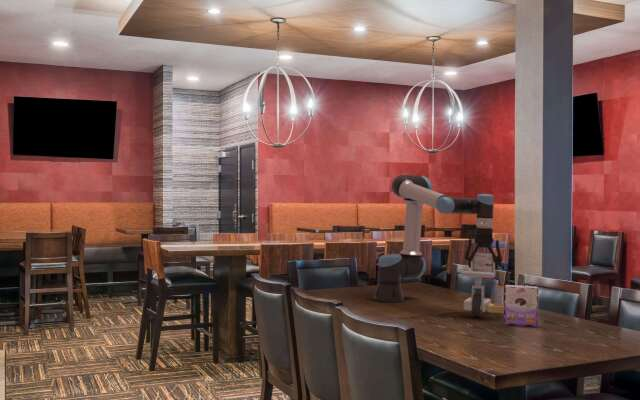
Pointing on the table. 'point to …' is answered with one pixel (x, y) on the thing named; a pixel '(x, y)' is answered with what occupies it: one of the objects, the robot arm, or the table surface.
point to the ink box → (483, 263)
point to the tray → (468, 304)
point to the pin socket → (495, 309)
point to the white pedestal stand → (477, 300)
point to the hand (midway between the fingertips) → (482, 275)
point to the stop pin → (499, 295)
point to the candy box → (521, 305)
